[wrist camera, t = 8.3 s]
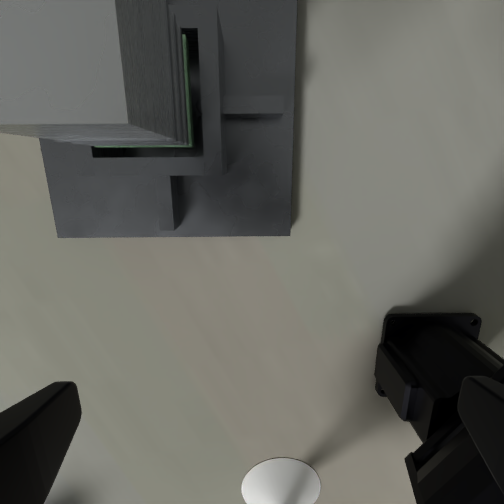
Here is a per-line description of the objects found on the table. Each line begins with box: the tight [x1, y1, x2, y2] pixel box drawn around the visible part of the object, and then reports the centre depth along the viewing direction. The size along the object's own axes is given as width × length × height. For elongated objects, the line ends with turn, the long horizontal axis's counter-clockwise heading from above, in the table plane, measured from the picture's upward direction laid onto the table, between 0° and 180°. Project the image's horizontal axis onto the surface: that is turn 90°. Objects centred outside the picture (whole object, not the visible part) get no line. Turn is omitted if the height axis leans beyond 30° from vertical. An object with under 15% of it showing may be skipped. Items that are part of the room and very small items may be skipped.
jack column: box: [0, 0, 194, 148], centre depth 10 cm, size 4×4×8 cm
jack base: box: [39, 0, 297, 238], centre depth 15 cm, size 14×14×4 cm
